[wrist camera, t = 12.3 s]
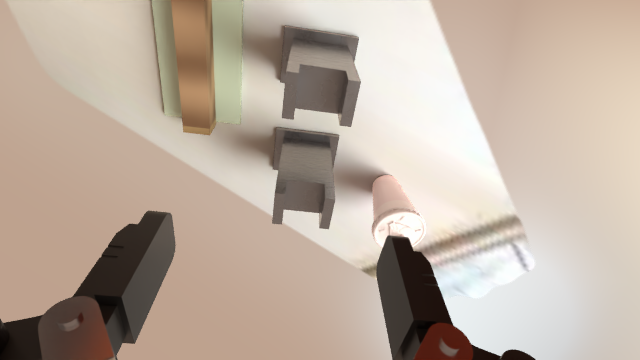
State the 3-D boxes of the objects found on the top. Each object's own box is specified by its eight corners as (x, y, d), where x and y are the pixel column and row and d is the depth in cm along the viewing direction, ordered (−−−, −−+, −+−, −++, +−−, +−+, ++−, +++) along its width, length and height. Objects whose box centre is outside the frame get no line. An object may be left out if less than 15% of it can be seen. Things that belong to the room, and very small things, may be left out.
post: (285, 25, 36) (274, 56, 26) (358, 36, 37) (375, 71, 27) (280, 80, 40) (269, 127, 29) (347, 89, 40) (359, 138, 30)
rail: (178, -38, 33) (167, -37, 30) (210, -33, 33) (202, -32, 30) (191, 121, 42) (183, 132, 39) (216, 124, 42) (210, 135, 40)
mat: (149, -41, 33) (146, -41, 32) (243, -25, 34) (242, -25, 33) (166, 113, 42) (164, 115, 41) (240, 122, 43) (239, 124, 42)
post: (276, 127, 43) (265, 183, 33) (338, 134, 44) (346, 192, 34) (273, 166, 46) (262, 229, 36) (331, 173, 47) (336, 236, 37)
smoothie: (379, 210, 51) (398, 287, 39) (353, 183, 48) (366, 257, 37) (416, 187, 49) (448, 262, 37) (391, 158, 46) (418, 228, 34)
